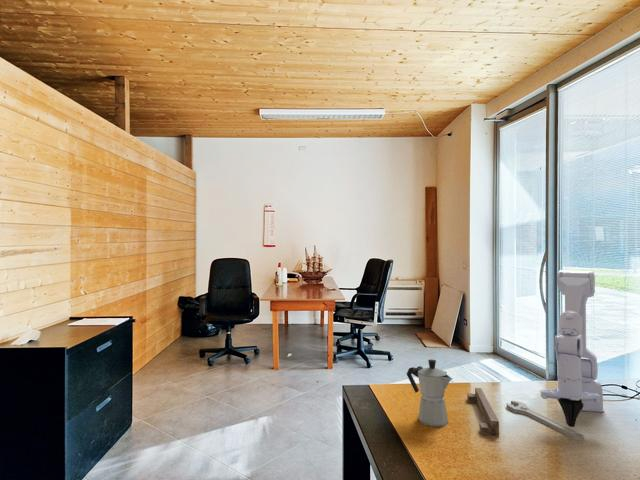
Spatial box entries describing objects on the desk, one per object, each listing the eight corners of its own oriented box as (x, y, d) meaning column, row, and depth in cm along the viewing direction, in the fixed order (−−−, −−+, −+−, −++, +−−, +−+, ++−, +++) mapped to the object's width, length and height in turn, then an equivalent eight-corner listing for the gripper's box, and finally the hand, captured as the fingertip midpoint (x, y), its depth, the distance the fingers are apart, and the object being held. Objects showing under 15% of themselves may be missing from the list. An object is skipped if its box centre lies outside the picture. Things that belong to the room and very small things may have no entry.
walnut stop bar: (481, 400, 132) (481, 388, 132) (499, 436, 106) (498, 421, 106) (467, 399, 133) (467, 387, 133) (481, 434, 107) (481, 419, 107)
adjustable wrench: (587, 441, 104) (587, 435, 104) (568, 445, 102) (567, 438, 102) (518, 405, 128) (518, 399, 128) (501, 407, 127) (501, 401, 127)
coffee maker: (459, 422, 115) (458, 360, 116) (446, 432, 109) (445, 367, 109) (414, 408, 125) (414, 352, 126) (400, 416, 119) (399, 357, 119)
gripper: (546, 380, 109) (547, 429, 108) (605, 383, 105) (606, 434, 105) (537, 372, 115) (538, 418, 115) (593, 375, 112) (594, 422, 112)
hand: (570, 425), depth 111 cm, fingers closed
